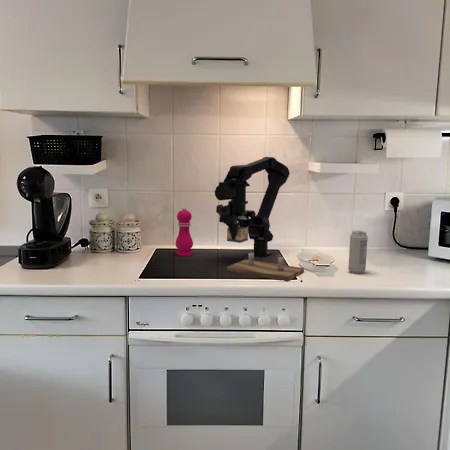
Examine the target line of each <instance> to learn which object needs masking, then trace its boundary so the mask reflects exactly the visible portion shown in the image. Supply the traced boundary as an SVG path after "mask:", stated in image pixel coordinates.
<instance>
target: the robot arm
mask: <svg viewBox="0 0 450 450" xmlns="http://www.w3.org/2000/svg"><path fill="white" fill-rule="evenodd" d="M263 170H264V171H265V173H267V180H268V184H267V187H266V190H265V192H264V196H263V198H262V201H261V203H260V206H259V209H258V212H257V213H256V212H255V210H252V209H251V210H250V209H246V207H247V204H248V200H247V197H246V196H247V195H246V194H247V191H246V190H247V187H250V184H249V182H248V180H249V179H251V178H252V176H253V175H254V174H256V173H259V172H262V171H263ZM289 177H290V170H289V168H288V166H287V165H285V164H284V163H282V162H280V161H278V160H277V159H276V158H275V157H273V156H265V157H263V158H261V159H257V160H255V161H253V162H250V163H246V164H237V165H232V166H230V167H229V170H228V171H227V173H226V176H225V178H224V180H223V181H219V182H218V185H217V186H216V188H215V190H214V196H215V198H216V200H218V201H228V200H229V201H228V202H227V204H226V205H223V204H217V205H216V206H215V207H216V208H215V213H217V214H218V216H219V219H218V220H219V221H218V222H219V223H223V224H225V225H226V226H227V228H229V231H230V234H231V237H232V239H233V240H234V239H235V238H236V234H237V231H238V227H245V228H248V239H250V240H253V252H252V253H254V256H257V257H266V256H269V255H271V252H269V251H268V247H269V245H268V244H269V242H272V241H273V239H274V235H273V233H272V231H271V230H270V227H271V225H270V224H271V223H270V216H271V212H272V210H273V207H274V205H275V202H276V199H277V197H278V194H279V191H280V188H281V187H282V186H284V185H285V184H286V182H287V180H288V179H289Z"/></svg>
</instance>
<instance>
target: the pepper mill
mask: <svg viewBox="0 0 450 450" xmlns="http://www.w3.org/2000/svg"><path fill="white" fill-rule="evenodd" d="M192 217H193V216H192V213H191V212H190V211H189V210H187V207H186V206H182V208H181V210H179V211H178V212H177V214H176V219H177V221H178V222H177V225H178V228H179V229H178V234H177V237H176V239H175V247H176V255H177V256H179V257H189V256H192V255H193V250H192V248H193V246H194V241H193V238H192V235H191V234H190V233H191V232H190V226H191V222H190V221H192Z"/></svg>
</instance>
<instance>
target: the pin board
mask: <svg viewBox="0 0 450 450" xmlns="http://www.w3.org/2000/svg"><path fill="white" fill-rule="evenodd" d="M247 255H248V259H247V258H245V259H243V260H241V261H238V262H236V263H232V264H231V265H228V266H227V267H226V272H232V273H237V274H243V275H250V276H255V277H261V278H266V279H270V280H271V279H272V280H277V281H282V280H284V281H283V282H290V281H291V280H293V279H294V278H296V277H298V276H300V275H302V274H303V273H305V267H304V268H303V267H297V266H292V265H291V266H290V265H285V263H284V262H285V261H284V260H285V257H283V256H278V257H277V263H273V262H272V263H271V262H266V261H260V260H255V259H254V258H255V255H254V253H253V252H248V254H247Z"/></svg>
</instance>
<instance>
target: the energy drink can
mask: <svg viewBox="0 0 450 450" xmlns="http://www.w3.org/2000/svg"><path fill="white" fill-rule="evenodd" d="M367 252H368V235H367V231H365V230H352V232H351V233H350V236H349V251H348V270H349V273H350V274H353V275H354V274H355V275H362V274H364V273H365V272H366V267H367V254H368V253H367Z"/></svg>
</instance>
